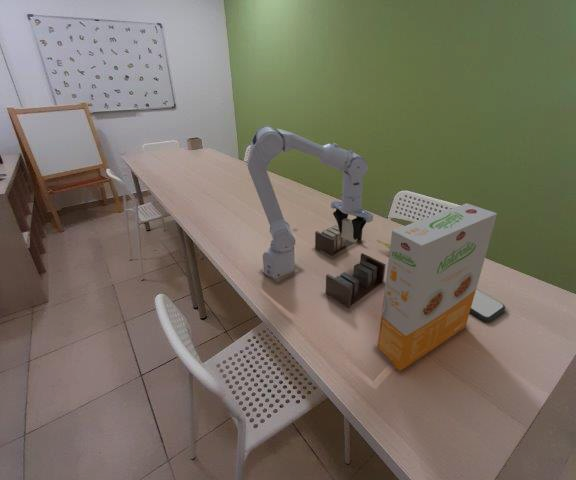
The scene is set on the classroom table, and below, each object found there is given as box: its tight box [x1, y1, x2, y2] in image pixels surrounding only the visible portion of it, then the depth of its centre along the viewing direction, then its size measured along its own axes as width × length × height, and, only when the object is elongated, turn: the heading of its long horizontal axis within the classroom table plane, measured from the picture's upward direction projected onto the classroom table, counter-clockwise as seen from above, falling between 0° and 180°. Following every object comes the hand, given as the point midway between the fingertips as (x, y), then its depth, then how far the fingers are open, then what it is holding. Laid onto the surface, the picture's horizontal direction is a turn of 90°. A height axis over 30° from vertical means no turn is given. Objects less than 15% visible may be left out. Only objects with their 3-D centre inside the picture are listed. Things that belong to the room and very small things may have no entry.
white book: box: [341, 217, 357, 244], centre depth 93 cm, size 2×5×6 cm, turn 40°
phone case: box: [469, 288, 506, 323], centre depth 80 cm, size 9×2×16 cm
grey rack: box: [325, 252, 387, 309], centre depth 83 cm, size 16×8×7 cm, turn 130°
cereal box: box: [377, 202, 498, 372], centre depth 63 cm, size 22×6×30 cm, turn 120°
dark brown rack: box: [314, 224, 363, 257], centre depth 106 cm, size 16×8×7 cm, turn 130°
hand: (349, 234), depth 94 cm, fingers closed on white book, 5 cm apart
